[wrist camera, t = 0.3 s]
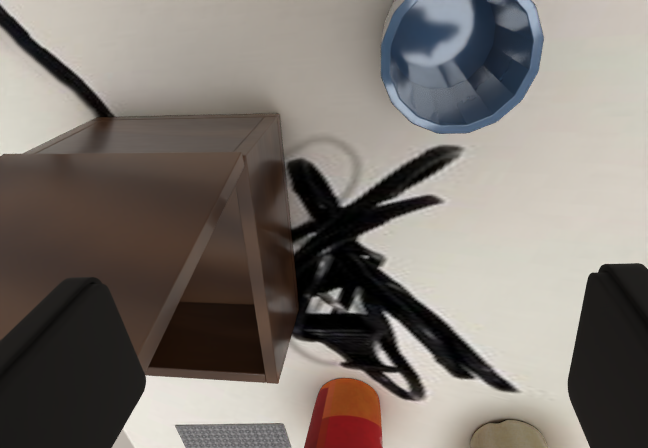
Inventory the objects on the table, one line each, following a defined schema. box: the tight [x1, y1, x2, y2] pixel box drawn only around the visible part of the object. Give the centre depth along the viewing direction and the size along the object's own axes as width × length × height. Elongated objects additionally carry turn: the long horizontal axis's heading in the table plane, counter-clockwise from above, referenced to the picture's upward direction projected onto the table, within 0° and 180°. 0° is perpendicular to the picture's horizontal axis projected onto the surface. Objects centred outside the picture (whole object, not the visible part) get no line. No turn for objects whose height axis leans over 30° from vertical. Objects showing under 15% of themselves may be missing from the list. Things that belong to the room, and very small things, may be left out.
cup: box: [381, 0, 544, 134], centre depth 22 cm, size 6×6×8 cm
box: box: [23, 114, 299, 384], centre depth 30 cm, size 16×13×8 cm
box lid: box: [0, 152, 244, 373], centre depth 16 cm, size 16×13×1 cm
